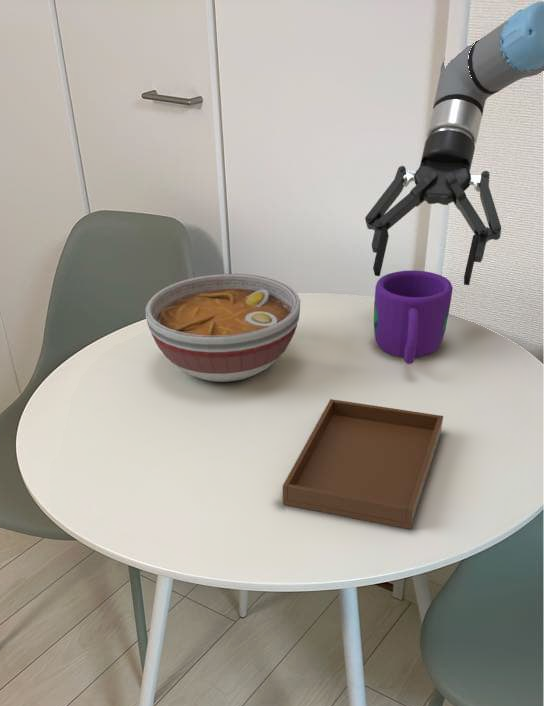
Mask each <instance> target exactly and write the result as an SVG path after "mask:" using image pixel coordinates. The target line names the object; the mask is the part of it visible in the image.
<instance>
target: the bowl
mask: <svg viewBox="0 0 544 706" xmlns="http://www.w3.org/2000/svg"><path fill="white" fill-rule="evenodd" d="M300 314H301V299H300V297H299V295H298V293H297V292H296V291H295V290H294V289H293V288H292V287H290V286H289V285H287V284H286V283H284V282H281V281H280V280H277V279H273V278H270V277H266V276H261V275H254V274H246V273H217V274H208V275H202V276H201V275H200V276H196V277H191V278H188V279H184V280H180V281H178V282H175V283H173V284H170V285H168V286H166V287H164V288H162V289H160V290H159V291H157V292H156V293H155V294H154V295H153V296H152V297H151V298H150V299H149V300H148V302H147V304H146V307H145V318H146V323H147V327H148V329H149V331H150V334H151V337H152V338H153V341H154V343H155V344H156V346H157V347H158V349H159V350H160V351H161V353H162V354H163V355H164V357H165V358H166V359H167V360H169V361H170V362H171V363H172V364H173V365H174V366H176V367H177V368H178V369H179V370H180V371H182V372H183V373H185V374H187V375H190V376H192V377H195V378H198V379H200V380H204V381H208V382H216V383H230V382H237V381H242V380H246V379H249V378H251V377H253V376H256V375H257V374H258V375H259V374H260V373H262V372H263V371H265V370H267V369H268V368H269V367H271V366H272V365H273V364H274V363H275V362H276V361H277V360H278V359H279V358H280V357H281V356H282V355H283V354H284V353H285V351H286V350H287V348H288V346H289V344H290V343H291V341H292V339H293V338H294V335H295V333H296V330H297V327H298V322H299V321H300Z"/></svg>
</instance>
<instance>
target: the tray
mask: <svg viewBox="0 0 544 706" xmlns="http://www.w3.org/2000/svg"><path fill="white" fill-rule="evenodd" d="M443 422H444V415H438V414H434V413H426V412H421V411H412V410H408V409H407V410H406V409H400V408H393V407H386V406H379V405H374V404H373V405H372V404H365V403H359V402H352V401H347V400H339V399H332V398H330V399H329V400H328V403H327V404H326V406H325V408H324V410H323V412H322V413H321V415H320V417H319V418H318V421H317V423H316V424H315V427H314V428H313V429H312V432H311V434H310V435H309V437H308V439H307V441H306V442H305V445H304V446H303V448H302V450H301V452H300V453H299V455H298V456H297V459H296V461H295V463H294V464H293V466H292V468H291V470H290V472H289V473H288V475H287V477H286V479H285V481H284V483H283V484H282V505H284V506H288V507H289V506H290V507H293V508H298V509H299V508H300V509H303V510H304V509H306V510H309V511H315V512H321V513H325V514H331V515H335V516H341V517H346V518H351V519H355V520H356V519H357V520H361V521H366V522H371V523H375V524H382V525H386V526H392V527H397V528H401V529H406V530H411V528H412V525H413V522H414V518H415V516H416V512H417V509H418V506H419V504H420V499H421V497H422V493H423V490H424V488H425V484H426V480H427V478H428V475H429V471H430V469H431V467H432V466H431V465H432V463H433V459H434V457H435V454H436V449H437V447H438V445H439V440H440V437H441V434H442V428H443Z"/></svg>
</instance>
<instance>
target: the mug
mask: <svg viewBox="0 0 544 706" xmlns="http://www.w3.org/2000/svg"><path fill="white" fill-rule="evenodd" d="M452 296H453V285H452V282H451V281H450V280H449V279H448V278H447V277H445V276H443V275H441V274H438V273H435V272H430V271H425V270H415V269H414V270H413V269H412V270H400V271H399V270H398V271H394V272H390V273H387V274H385V275H382V276H381V277H380V278H379V279H378V280H377V281H376V284H375V290H374V303H373V307H374V308H373V332H374V333H373V334H374V339H375V340H374V341H375V343H376V345H377V346H378V347H379V349H380V350H382V351H383V352H385V353H387V354H389V355H392V356H395V357H399V358H404V359H403V360H404V362H405V364H408V365H412V364H413V363H414V362H415V358H418V357H424V356H428V355H431V353H434V352H435V351H437V350H438V349H439V347H440V346H441V344H442V342H443V340H444V336H445V332H446V328H447V323H448V319H449V314H450V308H451V302H452Z"/></svg>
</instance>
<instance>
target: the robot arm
mask: <svg viewBox="0 0 544 706" xmlns="http://www.w3.org/2000/svg"><path fill="white" fill-rule="evenodd" d="M486 34H487V35H486V36H484V37H483V38H481V39H480V40H478V41H476V42H475V44H474V43H473V44H474V45H473V44H472V45H473V46H472V45H470V46H467V47H466V48H465V49H464V50H463V51H462V52H461V53H459V54H458V55H457V56H456V57H455V58H454V59H452V60H451V61H450V63H448V65H447V66H446V68H445V66H444V60H445V59H444V58H443V62H441V63H442V64H441V67H440V71H439V73H440V74H439V78H438V83H437V88H436V93H435V98H434V101H433V102H434V103H433V106H432V112H431V115H430V119H429V123H428V128H427V132H426V140H425V142H424V147H423V151H422V155H421V159H420V164H419V167H418V169H417V170H416V171H413V170H408V169H406V167H405V165H401V166H399V167H398V168H397V170H396V173H395V176H394V179H393V181H392V182H391V183H390V185H389V186H388V187H387V188H386V190H385V191H384V192H383V193H382V195H381V196H380V197H379V198H378V200H377V201H376V202H375V204H374V205H373V206H372V208H371V209H370V211H369V212H368V213H367V214H366V215H365V218H364V219H365V224H366V228H367V229H368V230H372V231H374V232H373V236H372V241H371V250H372V253H373V254H374V253H376V254H375V257H374V262H373V267H372V270H373V273H374V277H380V276H381V273H382V268H383V263H384V259H385V255H386V250H387V245H388V241H389V230H390V229H391V228H392V227H393V226H394V225H396V224H397V223H398V222H400V221H401V219H403V218H404V217H405V216H406V215H407V214H408V213H410V212H411V211H413V209H414V208H416V207H419V206H420V205H421V204H422V203H424V202H426V203H427V204H428V205H435V204H439V205H443V206H448V205H449V204H452V203H453V204H454V205H455V207H456V209H457V211H458V210H459V212H460V213H461V216H463V218H464V220H465V221H466V223H467V225H468V226H469V228H470V229H471V231H472V233H473V235H472V238H471V243H470V248H469V252H468V257H467V262H466V266H465V270H464V275H463V285H464V286H470V283H471V278H472V273H473V269H474V264H475V263H482V261H483V259H484V255H485V250H486V247H487V246H486V245H487V243H488V242H489V241H491V240H492V241H493V240H494V241H497V240H499V239H500V238H501V234H502V225H501V221H500V219H499V215H498V212H497V209H496V205H495V201H494V199H493V195H492V192H491V189H490V172H489V171H488V170H483V171H482V172H481V174H471V169H472V168H471V167H472V164H473V159H474V154H475V151H476V143H477V141H478V137H479V132H480V127H481V122H482V118H483V115H484V114H483V113H484V109H485V105H486V101H487V99H488V98H490V97H491V96H493V95H494V94H496V93H499V92H500V91H501V90H503V89H505V88H507V87H508V86H510V85H512V84H514V83H515V82H517V81H520V80H522V79H525V78H530V77H534V75H535V76H538V75H537V74H539V73H541V72H542V71H544V0H543V1H535V2H534V3H531V4H530V5H528V6H526V7H525V8H522V9H519V10H517V11H516V12H515V13H514V14H513V15H511V16H509V18H507V20H505V21H504V22H503V23H501V24H500V25H498V26H497V27H495V28H494V29H492V30H491V31H490V32H488V33H486ZM471 47H472V48H471ZM470 49H471V50H470ZM469 51H470V53H469ZM468 55H469V59H468ZM468 66H469V68H468ZM469 71H470V72H469ZM470 75H471V76H470ZM539 75H540V74H539ZM471 77H472V78H471ZM411 182H414V184H415V186H414V187H412V188H411V190H410V191H409V193H408V194H407V195H405V196H404V197H403V198H402V199H401V200H399V201H398V202H397V203H396V204H395V205H393V204H394V202H395V201H396V200H397V199H398V197H399V196H400V194H401V193H402V192H403V190H404V188H407V187H408V186H409V185H410V183H411ZM471 186H473V187H474V190H475V191H476V192H477V193H478V192H479V198H480V203H481V206H482V208H483V212H484V215H485V218H486V222H487V225H488V226H486V225H485V223H484V221H482V219H481V217H480V216H479V213H478V212H477V211H476V210H475V208H474V206H473V205H472V203H471V201H470V199H468V197H467V194H466V192H465V191H466V190H468V188H469V187H471ZM392 205H393V206H392ZM391 206H392V207H391ZM390 207H391V208H390Z"/></svg>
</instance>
